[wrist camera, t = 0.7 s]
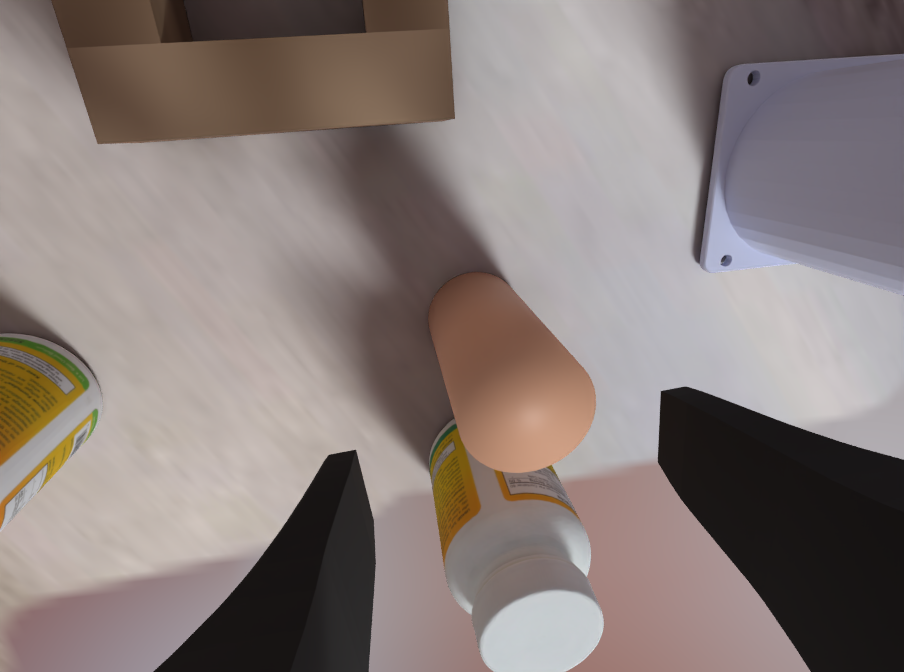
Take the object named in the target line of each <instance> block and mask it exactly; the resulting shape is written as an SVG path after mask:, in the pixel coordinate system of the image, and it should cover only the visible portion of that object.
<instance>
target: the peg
mask: <svg viewBox="0 0 904 672" xmlns="http://www.w3.org/2000/svg"><path fill="white" fill-rule="evenodd" d="M428 324H429V329H430V333H431V336H432V340H433V343H434V347H435V350H436V354H437V357H438V361H439V364H440V368H441V371H442V375H443V378H444V382H445V386H446V389H447V393H448V396H449V400H450V403H451V407H452V410H453V414H454V417H455V421H456V424H457V428H458V431H459V434H460V438H461V440H462V442H463V444H464V446H465V448H466V449H467V450H468V452H469V453H470V454H471V455H472V456H473V457H474V458H475V459H476V460H478V461H479V462H480V463H482V464H484V465H485V466H487V467H490V468H492V469H495V470H498V471H502V472H509V473H524V472H531V471H536V470H539V469H542V468H545V467H548V466H550V465H552V464H554V463H556V462H558V461H560V460H561V459H563V458H564V457H565V456H567V455H568V454H569V453H571V452H572V451H573V450H574V449H575V448H576V447H577V446H578V445H579V444H580V442H581V441H582V440H583V438H584V437H585V436H586V434H587V432H588V430H589V428H590V426H591V424H592V421H593V418H594V414H595V408H596V395H595V389H594V386H593V383H592V381H591V379H590V377H589V375H588V373H587V372H586V371H585V369H584V368H583V367H582V366H581V365H580V364H579V363H578V361H577V360H576V359H575V358H574V357H573V356H572V355H571V354H570V353H569V351H568V350H567V349H566V348H565V347H564V346H563V345H562V344H561V343H560V341H559V340H558V339H557V338H556V337H555V336H554V335H553V334H552V333H551V331H550V330H549V329H548V328H547V327H546V326H545V325H544V324H543V323H542V321H541V320H540V319H539V318H538V317H537V316H536V315H535V314H534V313H533V311H532V310H531V309H530V308H529V307H528V306H527V305H526V304H525V303H524V301H523V300H522V299H521V298H520V297H519V296H518V295H517V294H516V293H515V291H514V290H513V289H512V288H511V287H510V286H509V285H508V284H507V283H506V282H505V281H503V280H502V279H500V278H499V277H497V276H495V275H492V274H488V273H483V272H471V273H465V274H462V275H459V276H457V277H455V278H453V279H451V280H450V281H448V282H447V283H446V284H444V285H443V286H442V287H441V288H440V289H439V291H438V292H437V293H436V295H435V297H434V298H433V300H432V303H431V305H430V309H429V315H428Z"/></svg>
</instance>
